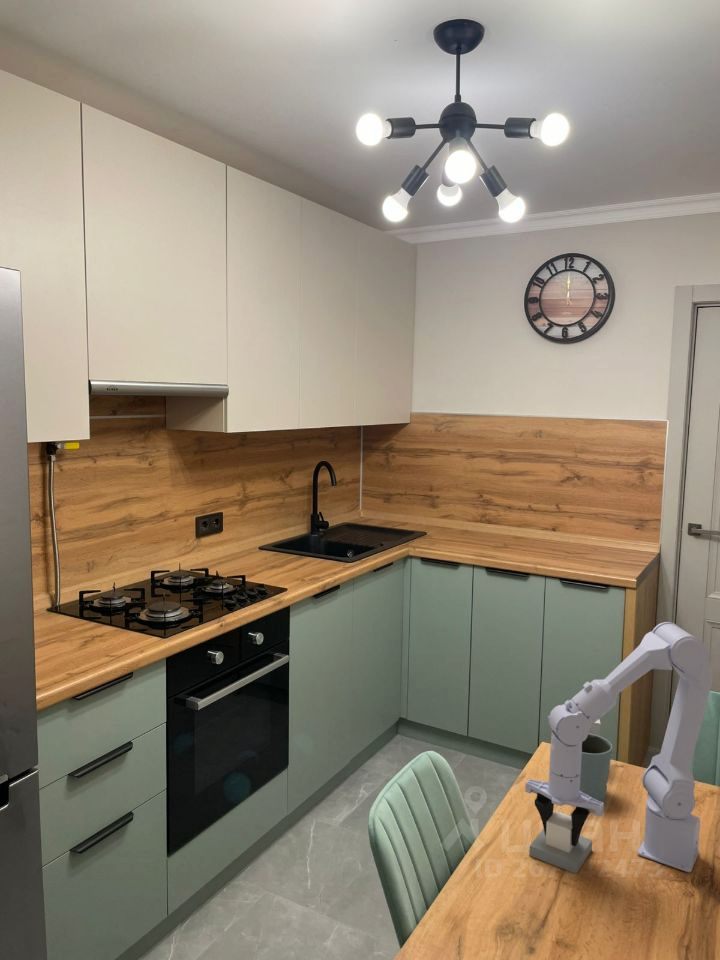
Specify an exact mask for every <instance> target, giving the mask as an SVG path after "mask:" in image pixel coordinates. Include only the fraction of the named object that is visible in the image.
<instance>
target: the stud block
mask: <svg viewBox="0 0 720 960" xmlns="http://www.w3.org/2000/svg"><path fill="white" fill-rule="evenodd" d="M592 847H593V839H590V838H587V837H584V836H582V835H580V836H579V841H578V843H577V845H576V846H574V847H573V848H572V850H571V851H570V852H569V853H568V852H566V851H563V850H560V849H558V848H555V847H552V846H550V845H547V844H546V836H545V832H544V827H543V829H541V831H540V832H539V834H538V835H537V836H536V837H535V838H534V840H533V841H532V842H531V843H530V845H529V857H532V858H535V859H536V860H539V859H540V861H542V862H544V863H548V864H550V865H552V866H556V868H557V867H558V868H560V869H563V870H564V871H568V872H571V873H573V874H575V875H577V874H578V872H579V870H580V869H581V867H582V866H583V864H584V863H585V862H586V859H587V858H588V856H589V855H590V853H591V852H592V849H593V848H592Z"/></svg>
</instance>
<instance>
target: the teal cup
mask: <svg viewBox="0 0 720 960" xmlns="http://www.w3.org/2000/svg"><path fill="white" fill-rule="evenodd" d="M612 753H613V744H612V743H611V742H610V740H608V738H605V737H603V736H601V735H600V736H598V735H595V734H591V733H588V736H587V738H586V740H585V741H583V742H582V758H581V777H580V791H581V792H583V793H584V794H586V795H588V796H590V797H592V798H594V799H596V800H598V801H600V802H603V803H604V802H605V800H606V798H607V790H608V785H607V784H608V782H609V781H608V780H609V776H610V775H609V774H610V765H611V759H612Z"/></svg>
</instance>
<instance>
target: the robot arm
mask: <svg viewBox="0 0 720 960" xmlns="http://www.w3.org/2000/svg"><path fill="white" fill-rule="evenodd" d="M710 653H711V651H710V650H709V649H708V648H707V646H706V645H705V644H704V643H703V641H701V640H700V639H699V637H696V636H693V635H692V634H690V633H689V632H687V631H685V630H684V629H683V628H681V627H680V626H678V624H676V623H674V622H672V621H671V622H670V621H664V622H661V623H658V624H657V625H656V626H655V627H654V628H653V629H652V631H649V632H647V633H646V634H645V635H644V636H643V638H642V640H641V642H640V644H639V645H638V646H637V647H636V648H635V649H634V650H633V651H632V652H631V653H630V654H629V655H628V656H626V658H625V659H624V660H622V662H621V663H619V664H618V665H617V667H615V669H613V670H612V671H611V672H610V673H609V674H608V675H607V676H606V677H605V678H604V679H593V680H592V681H590V682H589V681H586V682H585V683H584V684H583V685H582V687H583V688H582V689H581V690H580V691H579V692H578V693H576V694H575V695H574V696H573V697H572V698H571V699H567V700H566V701H565V702H564V704H558V705H556V706H555V707H553V709H552V710H551V711H550V712H549V713H550V714H549V715H548V716H547V717H546V720H547V721H546V722H547V723H548V726H549V727H550V729H551V736H550V738H551V739H550V748H549V749H550V750H549V751H550V753H549V769H548V781H542V780H537V779H531V778H529V779H528V780H527V781H525V790H524V792H525V793H528V794H532V793H533V794H536V798H535V799H534V806H535V808H536V810H537V812H538V814H539V816H540V820H541V821H542V826H543V828H544V832H545V836H546V824H547V820H548V819H549V818H550V817H551V815H552V814H553V813H554V807H555V806H559V807H563V805H566V806H572V807H574V808H575V809H574V810H573V811H572V812H571V813H570V816H571V818H572V838H571V843H572V845H573V846H576V845H577V843H578V841H579V836H581V833H582V830H583V827H584V825H585V822H586V820H587V819H588V817H589V815H590V814H591V813H593V814H594V815H595V816H596V817H599V818H601V817H602V816H603V814H604V810H605V809H604V807H605V806H604V805H605V803H604V801H603V802H600V801H598V800H596V799H594V798H592V797H590V796H588V795H586V794H584V793H583V792H581V791H580V777H581V758H582V742H583V741H585V740H586V738H587V736H588V733H589V729H590V728H591V727H592V726H591V725H593V724H594V723H595V722H596V721H597V720H598V719H600V720H601V718H602V717H603V716H604V715H606V714H607V713H608V712H609V711H610V710H611V709H613V707H615V706H616V705H617V701H618V695H619V694H620V693H621V692H622V691H625V689H627V688H628V687H630V685H632V684H633V683H635V682H637V680H639V679H640V678H641V677H643V676H644V675H646V674H647V673H648V672H649V671H651V670H662V671H663V670H664V671H673V668H674V670H675V672H676V673H677V674H678V676H679V680H678V683H677V687H676V691H675V695H674V699H673V703H672V707H671V711H670V714H669V718H668V722H667V726H666V730H665V734H664V737H663V738H664V739H663V742H662V745H661V749H660V753H658V754H655V755H654V756H652V757H651V761H650V764H649V766H648V767H647V768H646V769H645V770H644V772H643V774H642V778H641V783H642V787H643V788H644V789H645V791H646V792H647V794H646V795H647V797H646V807H645V821H644V822H645V823H644V824H645V825H644V837H643V841H642V842H641V844H640V846H639V848H638V849H637V855H638V856H640V857H644V858H647V859H649V860H652V861H655V862H658V863H661V864H664V865H666V866H669V867H672V868H675V869H678V870H681V871H684V872H686V873H691V872H692V871H693V868H694V865H695V863H696V860H697V858H698V856H699V853H700V852H699V851H700V850H699V846H700V845H699V844H700V843H699V841H700V830H701V828H700V827H701V820H700V819H701V818H700V817H699V816H697V815H694V814H692V813H693V811H694V810H695V807H696V797H695V786H696V782H695V779H694V774H693V772H692V769H691V764H692V762H693V761H692V760H693V757H694V753H695V751H696V750H695V748H696V745H697V743H698V742H697V741H698V738H699V734H700V731H701V727H702V723H703V718H704V715H705V710H706V708H707V703H708V699H709V696H710V691H711V688H712V684H713V681H714V673H713V669H712V666H711V662H710V658H709V657H710ZM592 723H593V724H592ZM554 805H555V806H554Z"/></svg>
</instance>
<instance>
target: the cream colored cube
mask: <svg viewBox="0 0 720 960" xmlns="http://www.w3.org/2000/svg"><path fill="white" fill-rule="evenodd" d="M571 838H572V818H571V815H569V814H565V813H563V812H560V811H556V810H555V811H553V814H552V815H551V817H550V818H549V819H548V820H547V824H546V844H547V845H550V846H552V847H555V848H558V849H560V850H563V851H566V852H568V853H569V852H570V851H571V850H572V848H573V847H574V846H573V845H572V843H571Z"/></svg>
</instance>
